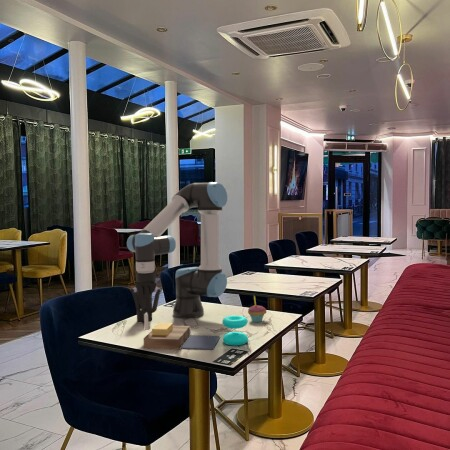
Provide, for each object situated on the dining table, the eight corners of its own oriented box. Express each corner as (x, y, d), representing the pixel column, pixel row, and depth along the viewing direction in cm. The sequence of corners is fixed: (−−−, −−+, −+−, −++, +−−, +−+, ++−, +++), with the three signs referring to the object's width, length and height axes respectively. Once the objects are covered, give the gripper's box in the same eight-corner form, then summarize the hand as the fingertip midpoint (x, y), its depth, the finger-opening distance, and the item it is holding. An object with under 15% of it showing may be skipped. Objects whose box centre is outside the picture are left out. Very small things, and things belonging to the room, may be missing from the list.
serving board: (157, 334, 196) (157, 325, 196) (190, 335, 194) (189, 326, 193) (143, 348, 178) (143, 338, 178) (179, 349, 176) (178, 339, 176)
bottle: (153, 319, 220) (152, 278, 219) (147, 323, 213) (146, 280, 212) (140, 318, 222) (139, 277, 221) (134, 322, 215) (133, 280, 214)
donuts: (242, 322, 176) (218, 320, 180) (243, 347, 177) (219, 345, 180) (250, 315, 185) (227, 313, 189) (251, 339, 186) (228, 337, 190)
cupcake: (244, 320, 215) (243, 295, 214) (258, 317, 220) (257, 292, 219) (256, 324, 208) (255, 298, 207) (270, 321, 213) (269, 295, 212)
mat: (190, 336, 193) (190, 335, 192) (220, 337, 191) (220, 335, 190) (181, 348, 177) (180, 347, 177) (213, 349, 175) (212, 348, 175)
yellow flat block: (159, 328, 191) (158, 322, 191) (173, 328, 190) (172, 323, 190) (152, 334, 182) (152, 329, 182) (166, 335, 181) (166, 329, 181)
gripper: (126, 273, 183) (128, 331, 184) (158, 273, 181) (160, 332, 182) (133, 270, 190) (135, 326, 192) (163, 270, 188) (165, 327, 190)
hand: (147, 329), depth 187 cm, fingers closed
